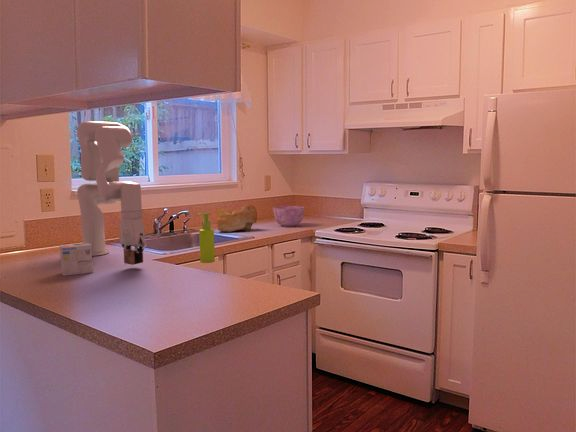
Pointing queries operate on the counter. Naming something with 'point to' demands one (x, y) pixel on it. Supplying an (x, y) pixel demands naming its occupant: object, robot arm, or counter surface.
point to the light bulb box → (76, 259)
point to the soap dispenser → (206, 241)
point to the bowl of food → (288, 215)
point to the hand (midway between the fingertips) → (133, 261)
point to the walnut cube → (130, 256)
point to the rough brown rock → (236, 219)
